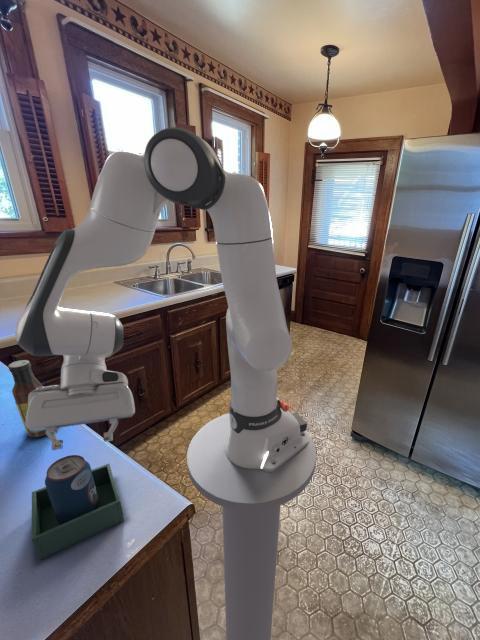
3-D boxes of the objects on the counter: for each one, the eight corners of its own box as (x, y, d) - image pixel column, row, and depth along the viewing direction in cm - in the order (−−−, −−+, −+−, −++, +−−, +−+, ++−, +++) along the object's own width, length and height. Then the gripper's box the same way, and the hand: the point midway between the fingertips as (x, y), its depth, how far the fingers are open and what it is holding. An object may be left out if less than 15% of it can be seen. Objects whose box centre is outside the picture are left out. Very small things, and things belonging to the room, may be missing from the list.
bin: (113, 480, 68) (109, 463, 66) (124, 520, 60) (120, 501, 58) (38, 510, 61) (31, 492, 59) (39, 560, 53) (31, 540, 51)
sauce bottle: (62, 425, 84) (44, 360, 76) (40, 441, 78) (18, 371, 70) (42, 421, 85) (22, 355, 77) (20, 435, 79) (-4, 367, 71)
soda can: (106, 512, 61) (95, 465, 56) (66, 538, 56) (49, 489, 51) (91, 492, 65) (79, 447, 60) (52, 514, 60) (36, 467, 55)
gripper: (22, 384, 64) (16, 454, 59) (130, 372, 71) (133, 434, 66) (35, 391, 70) (30, 455, 65) (134, 380, 76) (137, 437, 72)
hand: (83, 445), depth 66 cm, fingers open, 8 cm apart
